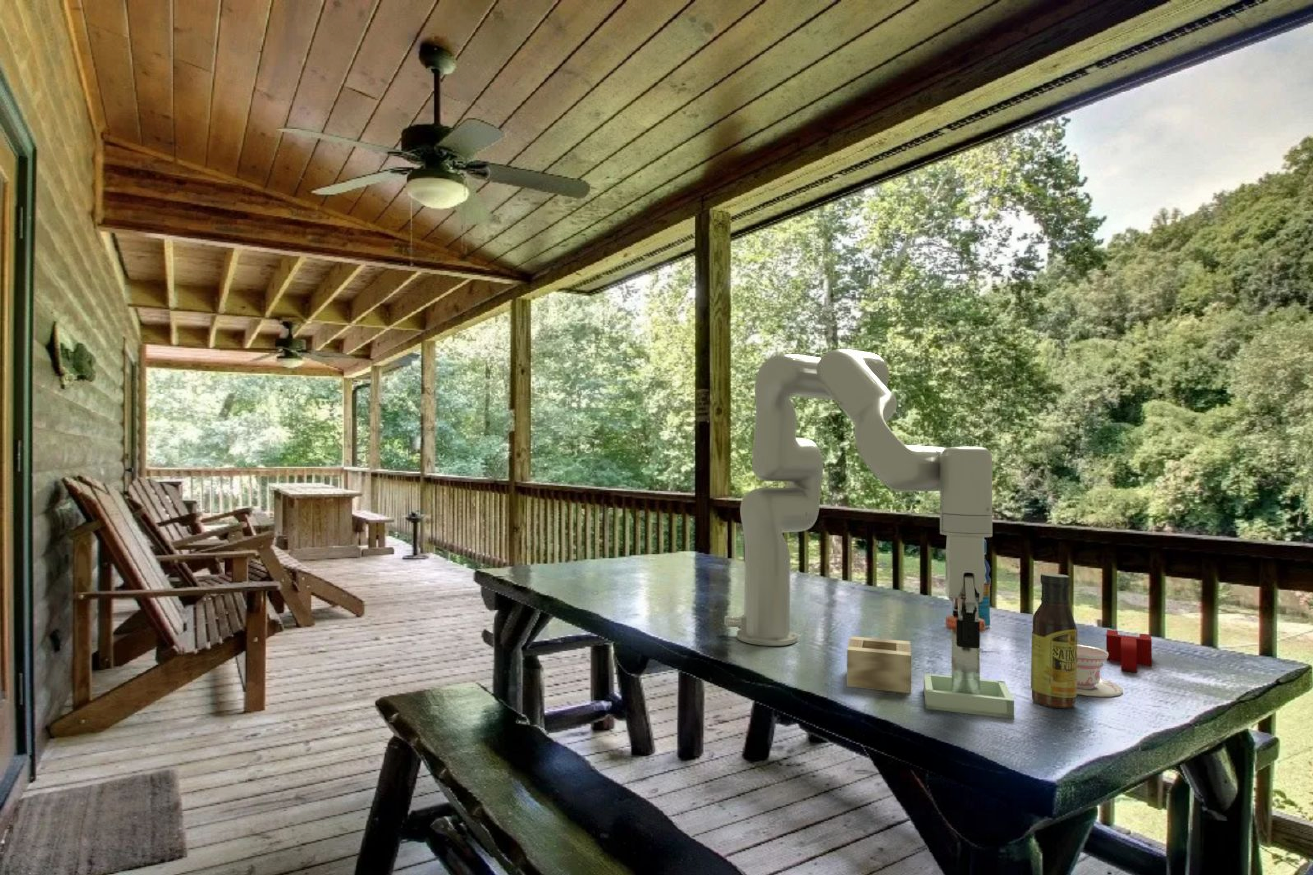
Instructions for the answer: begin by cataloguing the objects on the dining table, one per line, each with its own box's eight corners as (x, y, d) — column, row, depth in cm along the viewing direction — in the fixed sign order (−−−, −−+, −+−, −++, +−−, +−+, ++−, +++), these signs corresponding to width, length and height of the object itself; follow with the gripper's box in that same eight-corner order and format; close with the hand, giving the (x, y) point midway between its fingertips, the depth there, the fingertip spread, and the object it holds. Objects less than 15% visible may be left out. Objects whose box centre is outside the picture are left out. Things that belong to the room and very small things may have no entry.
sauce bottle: (1057, 712, 107) (1057, 578, 108) (1021, 699, 113) (1021, 572, 113) (1087, 707, 110) (1086, 576, 110) (1050, 694, 115) (1049, 571, 116)
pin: (947, 702, 109) (946, 622, 109) (945, 691, 114) (944, 614, 114) (987, 707, 107) (987, 625, 107) (983, 695, 112) (982, 617, 113)
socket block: (847, 686, 118) (847, 649, 118) (850, 670, 128) (850, 636, 128) (911, 693, 115) (911, 655, 115) (910, 676, 124) (910, 641, 125)
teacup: (1099, 703, 112) (1098, 663, 112) (1025, 682, 122) (1025, 646, 123) (1137, 691, 118) (1137, 653, 119) (1064, 672, 129) (1064, 638, 129)
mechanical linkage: (1107, 652, 144) (1107, 627, 144) (1150, 658, 140) (1150, 632, 140) (1105, 671, 130) (1105, 643, 131) (1153, 677, 126) (1152, 649, 127)
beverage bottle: (947, 626, 164) (947, 539, 165) (955, 620, 171) (955, 536, 172) (987, 631, 160) (986, 541, 160) (994, 625, 166) (993, 538, 167)
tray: (926, 708, 108) (926, 691, 108) (923, 689, 117) (923, 673, 117) (1014, 718, 104) (1014, 700, 104) (1004, 698, 113) (1004, 681, 113)
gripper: (937, 520, 121) (937, 627, 120) (943, 529, 105) (943, 653, 104) (985, 522, 119) (985, 631, 118) (999, 531, 102) (1000, 658, 102)
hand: (965, 640), depth 111 cm, fingers open, 6 cm apart
